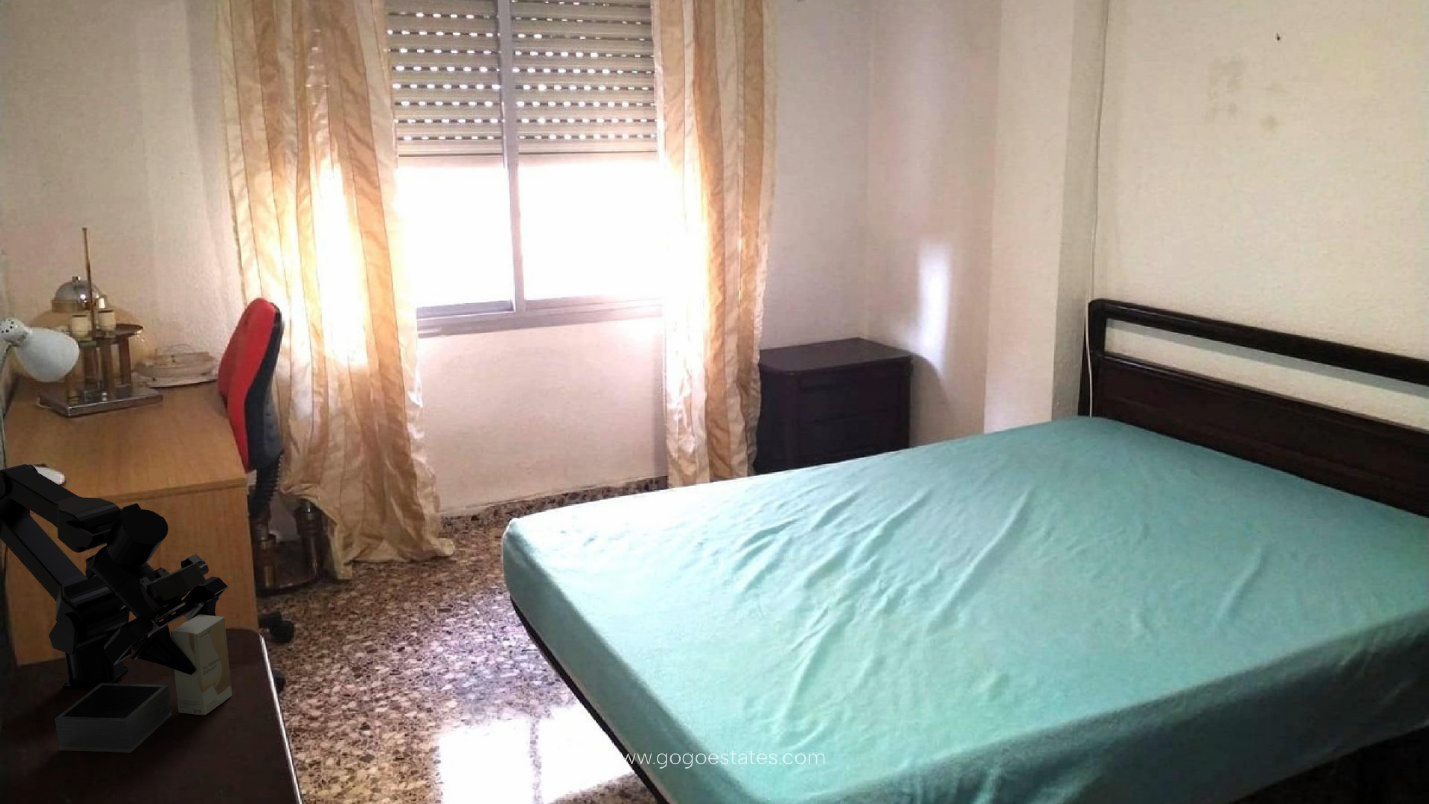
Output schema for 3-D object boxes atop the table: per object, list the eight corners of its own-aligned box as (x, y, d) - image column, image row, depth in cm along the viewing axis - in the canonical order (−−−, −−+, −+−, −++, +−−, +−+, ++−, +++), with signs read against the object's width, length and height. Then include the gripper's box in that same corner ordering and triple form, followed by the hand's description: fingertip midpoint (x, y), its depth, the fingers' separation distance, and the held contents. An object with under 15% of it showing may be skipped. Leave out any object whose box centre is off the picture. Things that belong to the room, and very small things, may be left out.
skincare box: (205, 717, 147) (195, 635, 144) (177, 713, 148) (167, 632, 145) (234, 694, 153) (226, 615, 150) (207, 691, 154) (198, 612, 151)
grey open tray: (59, 750, 139) (54, 718, 138) (104, 712, 148) (100, 683, 147) (130, 752, 138) (126, 721, 137) (172, 714, 147) (168, 685, 146)
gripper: (111, 570, 137) (194, 658, 137) (209, 523, 155) (283, 601, 155) (68, 621, 141) (149, 707, 141) (169, 569, 158) (241, 645, 158)
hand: (210, 661), depth 149 cm, fingers closed on skincare box, 6 cm apart
